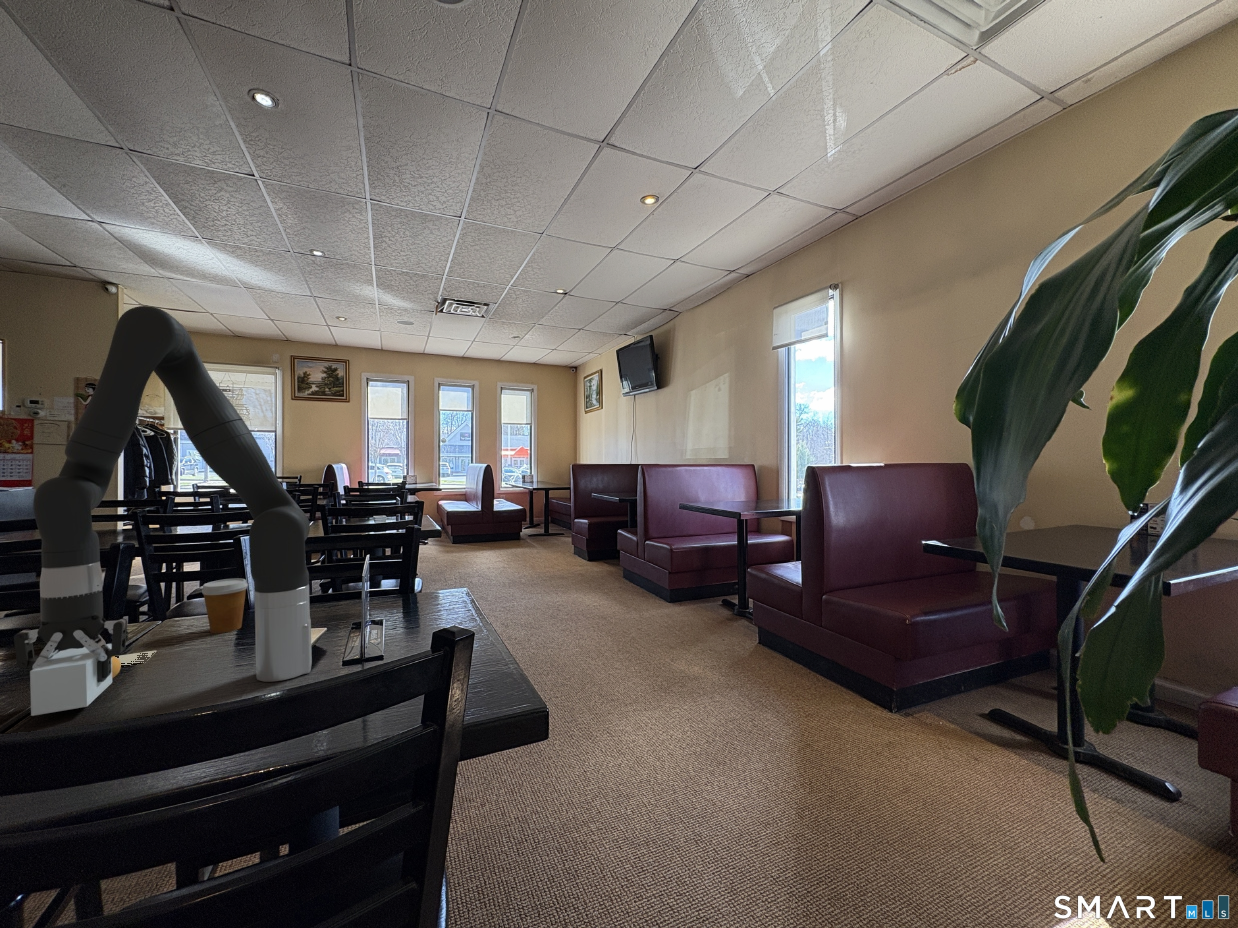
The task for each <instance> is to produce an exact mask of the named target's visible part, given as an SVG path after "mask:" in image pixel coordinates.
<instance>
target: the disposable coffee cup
mask: <svg viewBox="0 0 1238 928" xmlns="http://www.w3.org/2000/svg"><path fill="white" fill-rule="evenodd" d="M248 586H249V583H247V580H246V579H245V578H225V579H219V580H214V581H208V582H207V583H204V584H203V586H202V588H201V593H202V595H203V597H204V602H205V603H204V604H205V609H206V614H207V619H208V624H209V632H210V633H211V634H224V633H225V632H226V633H230V632H233V631H234V630H235V631H237V630H240V629H241V628H242V625H243V616H244V608H245V607H244V606H245V599H246V591H247V588H248ZM235 631H234V632H235Z"/></svg>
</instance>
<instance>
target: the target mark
mask: <svg viewBox="0 0 1238 928" xmlns="http://www.w3.org/2000/svg"><path fill="white" fill-rule="evenodd" d="M154 652H155V653H157V650H156V649H154V650H151V651H143V652H142V651H141V652H136V653H134V652H133V653H128V654H121V655H120V654H119V655H118V656H119V658H118V659H119V660H120V662H121V663H125V664H121V665H130V666H132V665H131V664H127V663H132V664H133V663H140V662H135V661H144V660H137V659H138V658H137V657H139V656H137V655H142V653H148V654H145V655H148V656H147V657H150V658H152V656H153V655H152V653H154ZM140 653H141V654H140ZM155 653H154V654H155ZM143 655H144V654H143ZM151 655H152V656H151ZM140 657H142V656H140ZM145 657H146V656H145ZM135 659H136V660H135ZM139 659H140V658H139ZM146 659H147V658H146ZM131 661H132V662H131ZM133 661H134V662H133ZM141 663H142V662H141ZM143 663H144V662H143ZM144 664H145V663H144Z"/></svg>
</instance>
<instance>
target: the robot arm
mask: <svg viewBox="0 0 1238 928" xmlns="http://www.w3.org/2000/svg"><path fill="white" fill-rule="evenodd" d="M197 350H198V349H197V348H196V346H195V344H194V342H193V339H192V337H191V335H190V333H189V331H188V330H187V329H186V328H185V326H184V325H183V324H182V323H180V322H179V321H178V319H176V318H175V317H173V316H172V314H170V313H168V312H166V311H165V310H163V309H161V308H159V307H155V306H150V305H139V306H135V307H132V308H129V309H128V310H127V311H124V313H122V315H120V317H119V319H117V323H116V326H115V329H114V332H113V335H112V339H111V342H110V347H109V350H108V353H107V357H106V360H105V363H104V366H103V368H102V371H101V374H100V376H99V379H98V382H97V384H96V387H95V389H94V391H93V393H92V395H91V398H90V399H89V402H88V404H87V406H86V407H85V409H84V412H83V413H82V416H81V417H80V418H79V421H78V422H77V424H76V425H75V428H74V430H73V432H72V434H71V436H70V437H69V439H68V441H67V443H66V445H65V448H64V455H65V456H66V458H65V462H64V464H63V465H62V468H61V470H60V472H59V474H58V476H56V477H52V478H51V477H50V478H49V479H46V480H45V481H43V482H42V483H41V484H40V485H39V486H38V487H37V488H36V490H35V492H34V496H33V503H32V504H33V515H34V518H35V522H36V527H37V530H38V533H39V536H40V539H41V572H40V573H41V574H40V579H39V593H40V594H39V595H40V597H39V598H40V623H41V624H40V626H39V628H37V629H32V630H31V629H29V628H27V629H23V630H22V631H19V632H18V633H16V634H14V636H13V642H14V649H15V659H16V666H17V668H19V669H24V668H25V669H31V670H33V669H34V668H36V667H37V666H39V665H40V664H42V663H43V662H47V660H48V659H50V658H53V656H54V655H55V654H57V653H58V652H60V651H64V650H67V649H79V648H84V647H85V648H86V649H87V650H88V651H89V652H92V653H93V654H94V655H96V656H97V659H98V660H99V661H98V662H97V682H103V681H104V680H106V678H107V677H108V676H109V675H110V674H111V657H113V656H120V654H121V653H123V652H124V651H125V650H126V645H127V631H128V630H127V629H128V619H126V618H121V619H118V620H106V618H105V617H104V602H103V601H104V598H103V597H104V596H103V592H104V591H103V587H104V579H103V571H102V567H101V560H100V559H101V556H100V555H101V553H100V552H101V551H100V549H101V548H100V540H99V535H98V533H97V532H96V531H95V530H93V521H92V520H93V518H92V511H93V510H95V509H96V508H97V507H98V506H99V505H100V504H101V502H102V501H103V499H104V497H105V495H106V494H107V491H108V488H109V485H110V482H111V481H112V476H113V473H114V470H115V467H116V464H117V462H118V460H119V459H120V458H121V456H122V454H123V452H124V450H125V448H126V446H127V445H128V442H129V440H130V438H131V436H132V434H133V433H134V429H135V426H136V423H137V421H138V417H139V412H140V407H141V402H142V398H143V394H144V391H145V389H146V386H147V383H148V381H149V379H150V378H151V376H152V374H153V373H155V375H156V376H157V378H158V379H159V380H160V381H161V383H162V384H163V385H164V387H165V388H166V390H167V391H168V394H170V396H171V398H172V401H173V404H174V407H175V410H176V413H177V415H178V418H179V421H180V423H181V426H182V428H183V431H184V432H185V434H186V435H187V437H188V440H190V442H191V444H192V445H193V447H194V448H195V450H196V451H197V452H198V455H200V457H201V458H202V460H203V461H204V462H205V464H206V465H207V466H208V467H209V468H210V469H211V470H212V471H213V473H215V474H216V475H217V476H218V478H220V479H221V480H222V481H223V482H224V483H226V485H228V486H229V487H230V488H231V489H232V490H233V491H234V492H235V493H236V494H237V495H238V496H239V498H240V499H241V500H242V502H243V503H244V505H245V506H246V508H247V509H248V512H249V513H250V515H251V517H252V518H253V521H252V523H251V524H250V528H249V532H248V533H249V535H248V547H249V565H250V568H249V569H250V575H251V578H252V581H253V587H254V588H253V590H254V595H253V596H254V626H255V627H254V628H255V629H254V630H255V631H254V632H255V637H254V638H255V671H256V680H257V681H259V682H260V681H261V682H265V683H266V682H267V683H270V682H280V681H285V680H289V679H294V678H297V677H300V676H301V675H305V674H310V673H311V669H312V663H313V662H312V661H313V659H312V656H313V655H312V622H311V621H312V620H311V614H310V613H311V612H310V574H309V570H308V567H307V563H306V562H307V561H306V540H307V538H308V536H309V535H310V530H311V525H310V524H311V523H310V520H309V518H308V516H307V515H306V513H305V512H304V511H303V510H302V509H301V507H300V506H299V505H298V504H297V502H296V501H295V500H294V499H293V497H291V495H290V494H289V493H288V492H287V490H286V489H285V488H284V487H283V485H282V483H281V482H280V481H279V479H278V477H277V476H276V474H275V472H274V470H273V468H272V466H271V465H270V462H269V461H268V459H267V457H266V455H265V454H264V452H263V450H262V448H261V446H260V445H259V444H258V441H257V440H256V438H255V436H254V435H253V433H252V431H251V430H250V428H249V427H248V425H247V424H246V422H245V421H244V419H243V418H242V417H241V415H240V414H239V413H238V410H237V409H236V408H235V406H234V405H233V403H232V402H231V401H230V400H229V398H228V397H227V396H226V395H225V394H224V392H223V391H222V389H221V388H220V387H219V386H218V384H216V381H214V379H213V378H212V377H211V375H210V373H209V371H208V370H207V368H206V366H205V364H204V362H203V360H202V358H201V357H200V355H199V352H198V351H197ZM104 629H107V631H108V632H109V634H112V638H111V639H112V642H111V644H112V649H110V648H109V647H108V646H107V645H106V641H105V640H104V639H103V637H102V636H101V635H100V634H101V633H102V632H103V631H104ZM37 637H39V638H40V639H41V640H42V641H44V642H45V643H46V645H45V647H44V648H43V649H42V651H41V652H40V654H39V656H38V658H37V657H35V649H34V648H35V647H34V642H36V640H37Z"/></svg>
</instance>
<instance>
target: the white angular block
mask: <svg viewBox="0 0 1238 928" xmlns="http://www.w3.org/2000/svg"><path fill="white" fill-rule="evenodd" d="M106 645H107V646H108V647H109V648H110V649H112V643H107V644H106ZM98 661H99V660H98V659H97V656H96V655H94V654H93V653H92V652H89V651H88V650H87V649H86V648H85V647H84V648H79V649H73V648H71V649H67V650H64V651H57V653H56V654H55V655H54V656H53V658H50V659H48V660H47V662H43V663H42V664H40V665H39V666H37V667H36V668H34V669H31V670H30V671H29V677H30V678H29V679H30V682H29V685H30V716H33V717H34V716H39V715H44V714H50V713H56V712H62V711H68V710H74V709H79V708H80V709H81V708H86V707H89V705H90V704H91V703H92V702H93V701H95V700H96V698H97V697H99V696H100V695H101V694H102V693H103V692H104V691H105V690H106V689H107V688H108V687H109V686H110V685H112V683H113V678H112V657H111V674H110V675H109V676H108V677H107V678H106V680H104V681H103V682H97V662H98Z"/></svg>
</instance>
